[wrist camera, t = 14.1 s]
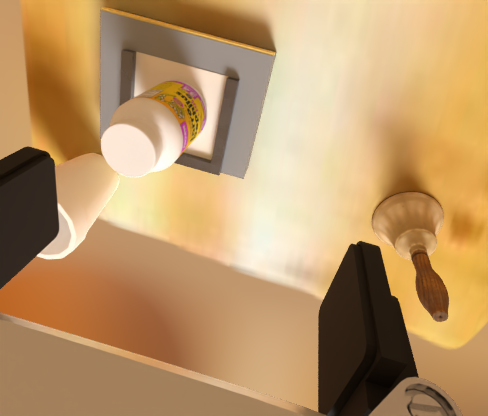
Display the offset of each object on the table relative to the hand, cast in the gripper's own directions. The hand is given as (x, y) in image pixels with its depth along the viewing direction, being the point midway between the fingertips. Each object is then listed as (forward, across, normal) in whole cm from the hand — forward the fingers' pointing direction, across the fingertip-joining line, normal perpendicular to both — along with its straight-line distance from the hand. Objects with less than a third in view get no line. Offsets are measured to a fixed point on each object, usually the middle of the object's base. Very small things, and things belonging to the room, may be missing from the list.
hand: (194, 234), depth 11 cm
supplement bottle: (+29, +10, +7) cm, 32 cm away
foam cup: (+32, +21, +20) cm, 44 cm away
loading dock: (+32, +10, +6) cm, 34 cm away
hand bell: (+33, -20, +14) cm, 41 cm away
